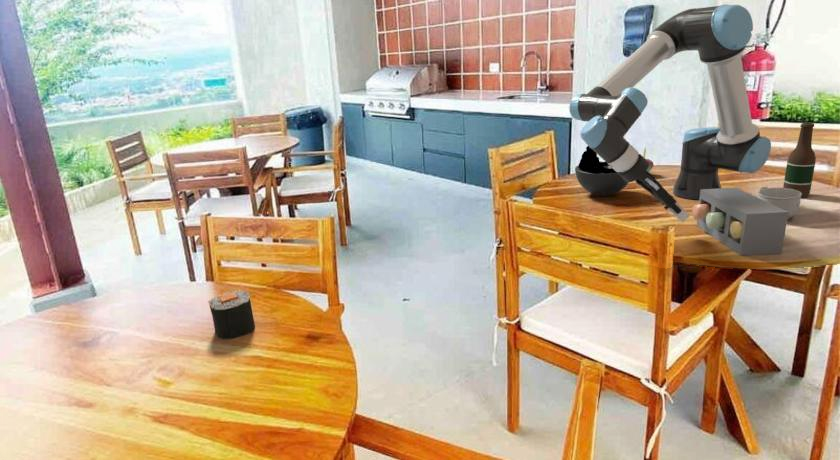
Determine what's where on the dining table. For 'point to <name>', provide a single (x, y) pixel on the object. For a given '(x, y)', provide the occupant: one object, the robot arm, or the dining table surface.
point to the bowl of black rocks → (598, 175)
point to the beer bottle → (801, 163)
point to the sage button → (715, 220)
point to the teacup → (782, 199)
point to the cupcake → (648, 162)
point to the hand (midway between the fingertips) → (685, 218)
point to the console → (746, 221)
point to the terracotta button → (701, 211)
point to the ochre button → (736, 229)
